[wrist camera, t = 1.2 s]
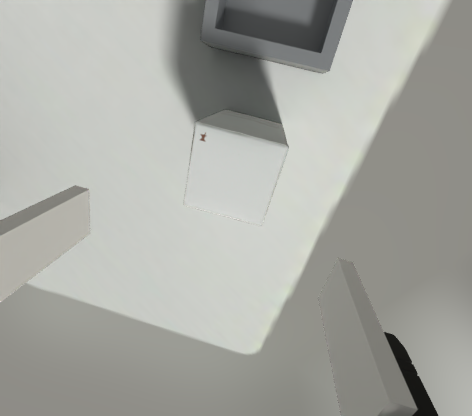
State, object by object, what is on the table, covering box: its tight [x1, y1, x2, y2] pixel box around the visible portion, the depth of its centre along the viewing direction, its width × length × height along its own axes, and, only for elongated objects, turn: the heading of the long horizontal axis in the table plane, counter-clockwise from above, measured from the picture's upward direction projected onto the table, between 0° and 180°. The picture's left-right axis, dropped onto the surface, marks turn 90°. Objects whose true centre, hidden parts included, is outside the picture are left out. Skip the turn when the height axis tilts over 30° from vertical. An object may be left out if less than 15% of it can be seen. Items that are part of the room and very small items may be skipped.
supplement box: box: [184, 109, 289, 226], centre depth 26 cm, size 7×7×13 cm
